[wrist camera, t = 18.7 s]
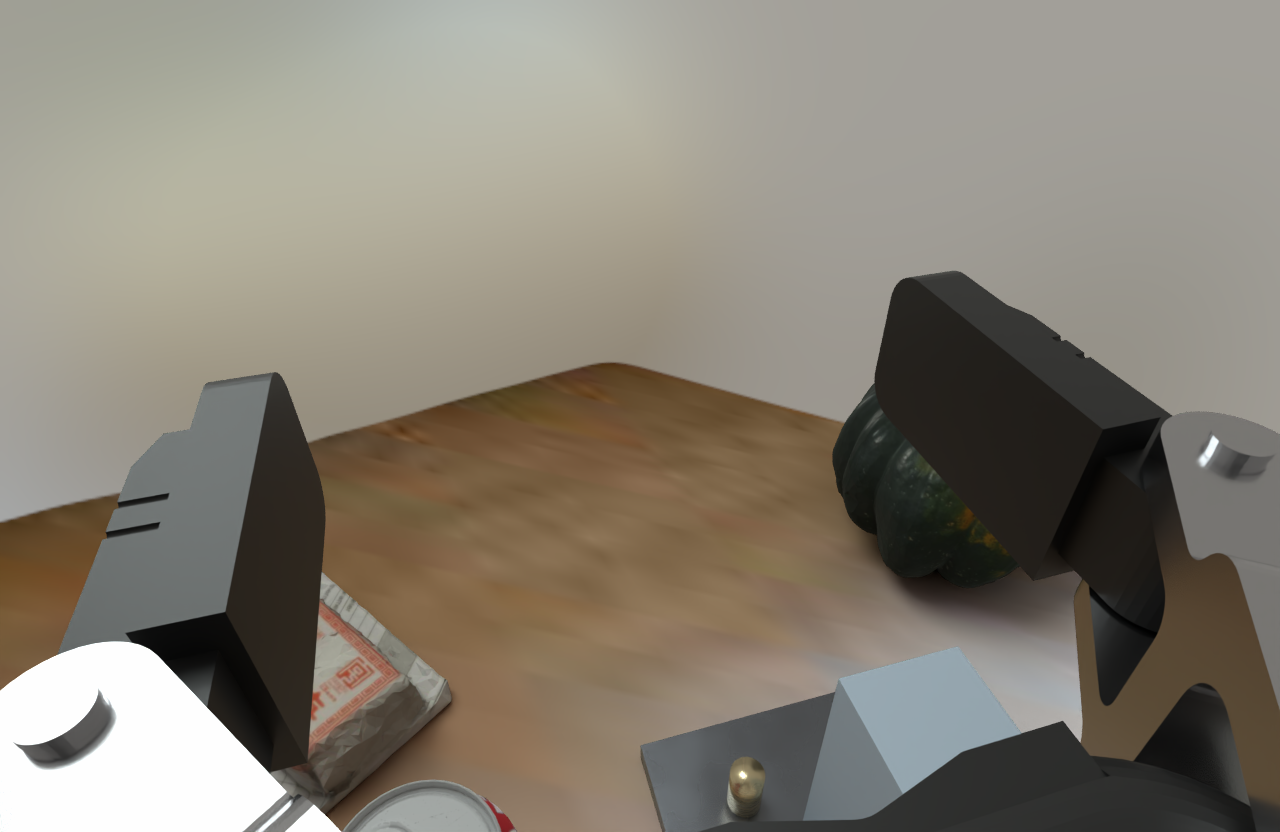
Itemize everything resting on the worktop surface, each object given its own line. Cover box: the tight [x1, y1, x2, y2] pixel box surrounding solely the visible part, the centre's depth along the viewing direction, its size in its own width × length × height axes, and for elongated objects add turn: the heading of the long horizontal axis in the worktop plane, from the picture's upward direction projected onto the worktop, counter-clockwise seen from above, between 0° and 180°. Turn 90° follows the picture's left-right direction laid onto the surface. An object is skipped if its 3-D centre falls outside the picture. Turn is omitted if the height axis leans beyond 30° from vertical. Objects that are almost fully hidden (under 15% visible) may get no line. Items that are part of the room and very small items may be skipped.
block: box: [803, 646, 1022, 821], centre depth 30 cm, size 5×5×12 cm
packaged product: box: [270, 572, 452, 815], centre depth 42 cm, size 18×5×10 cm
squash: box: [832, 383, 1020, 588], centre depth 48 cm, size 14×15×15 cm
